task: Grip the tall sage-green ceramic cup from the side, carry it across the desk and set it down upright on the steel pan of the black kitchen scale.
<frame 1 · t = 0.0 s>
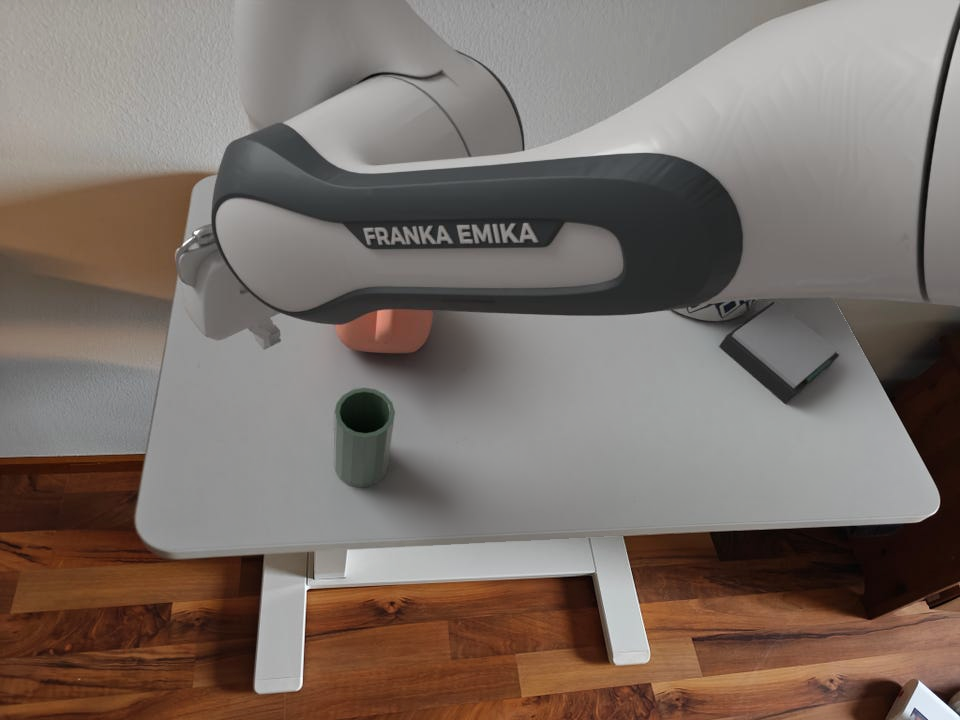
hand: (317, 316, 61), 21 cm above the table, tool pointing down, fingers open, 8 cm apart
teapot: (381, 320, 89), on the table
scale: (774, 356, 97), on the table
apple: (523, 242, 102), on the table
planter: (692, 276, 104), on the table
cup: (361, 463, 77), on the table
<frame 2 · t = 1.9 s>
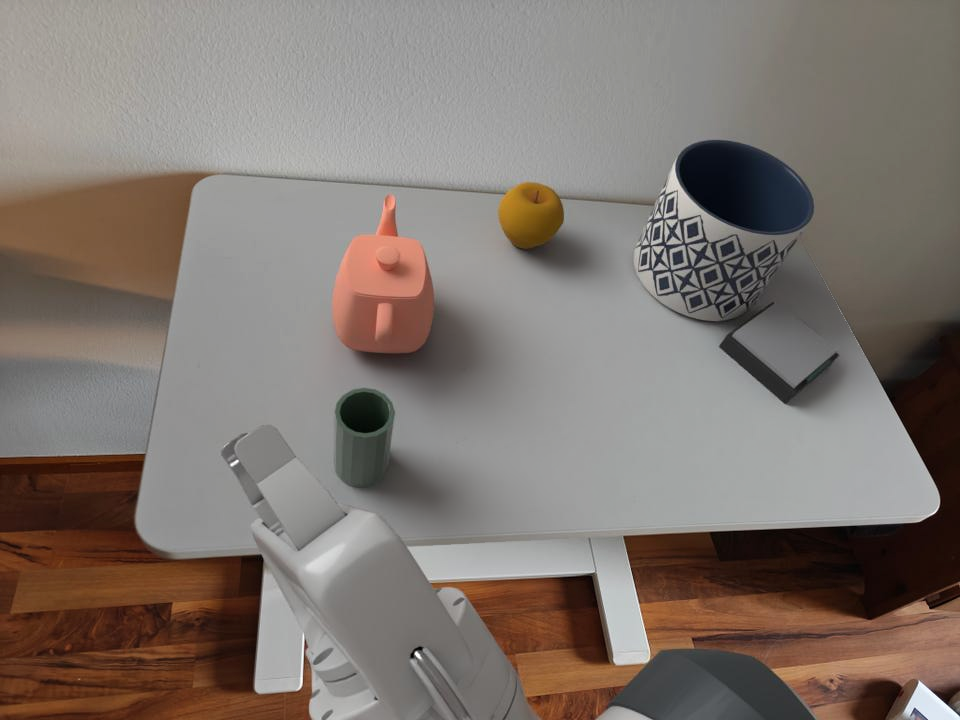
hand: (239, 436, 33), 39 cm above the table, tool pointing upward, fingers open, 8 cm apart
nothing on the table moved.
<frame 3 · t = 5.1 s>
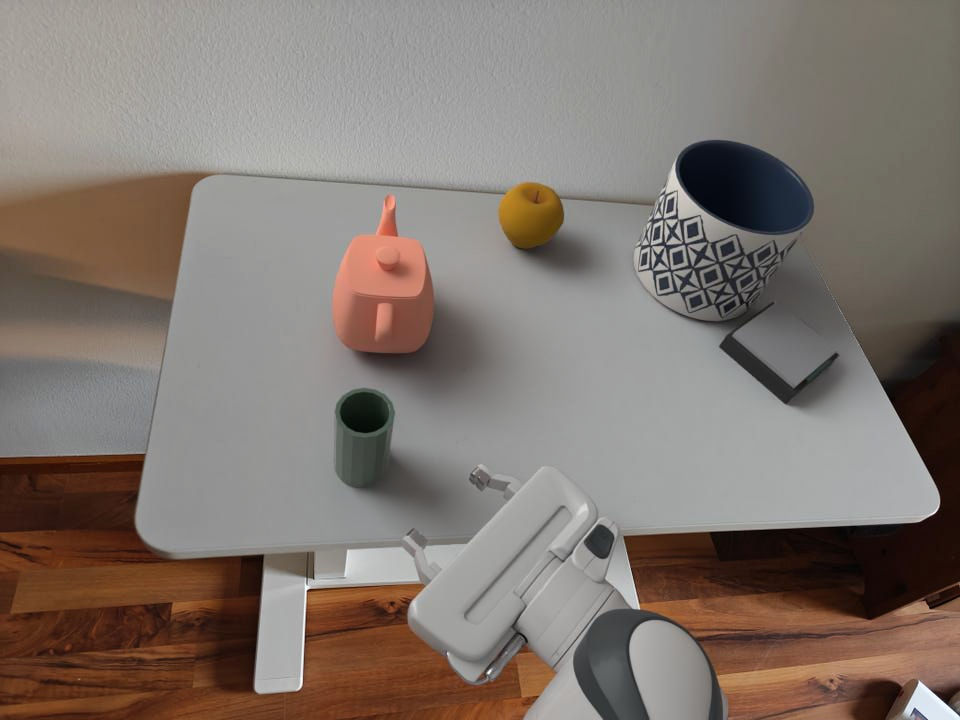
hand: (441, 502, 68), 7 cm above the table, tool horizontal, fingers open, 8 cm apart
nothing on the table moved.
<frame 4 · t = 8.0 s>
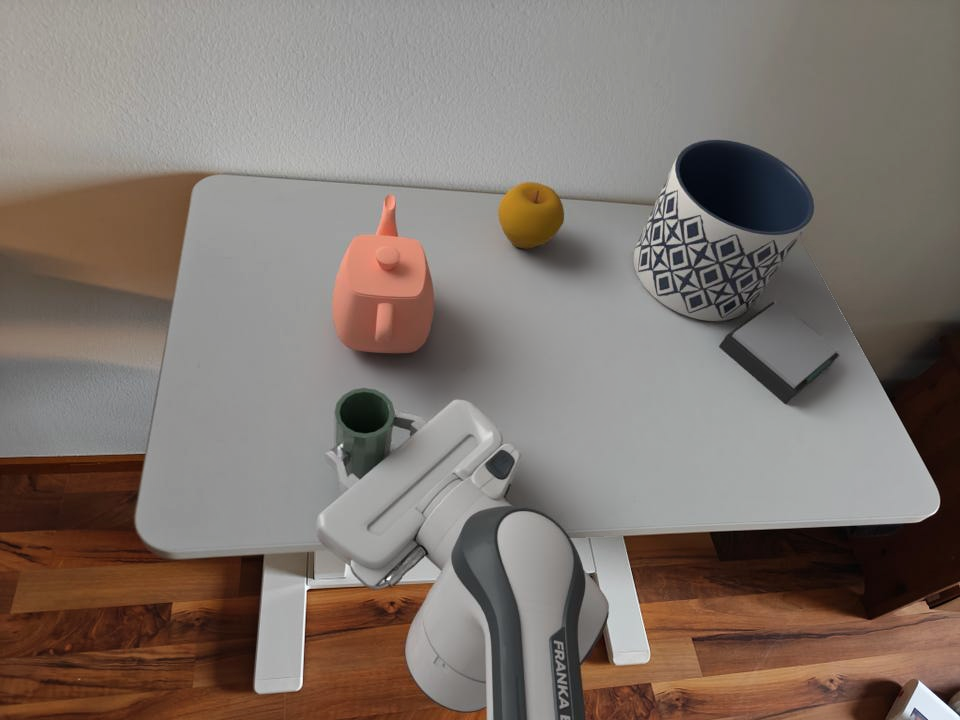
hand: (357, 430, 73), 6 cm above the table, tool horizontal, fingers closed on cup, 6 cm apart
cup: (361, 463, 77), on the table, touching gripper
everything else where it was.
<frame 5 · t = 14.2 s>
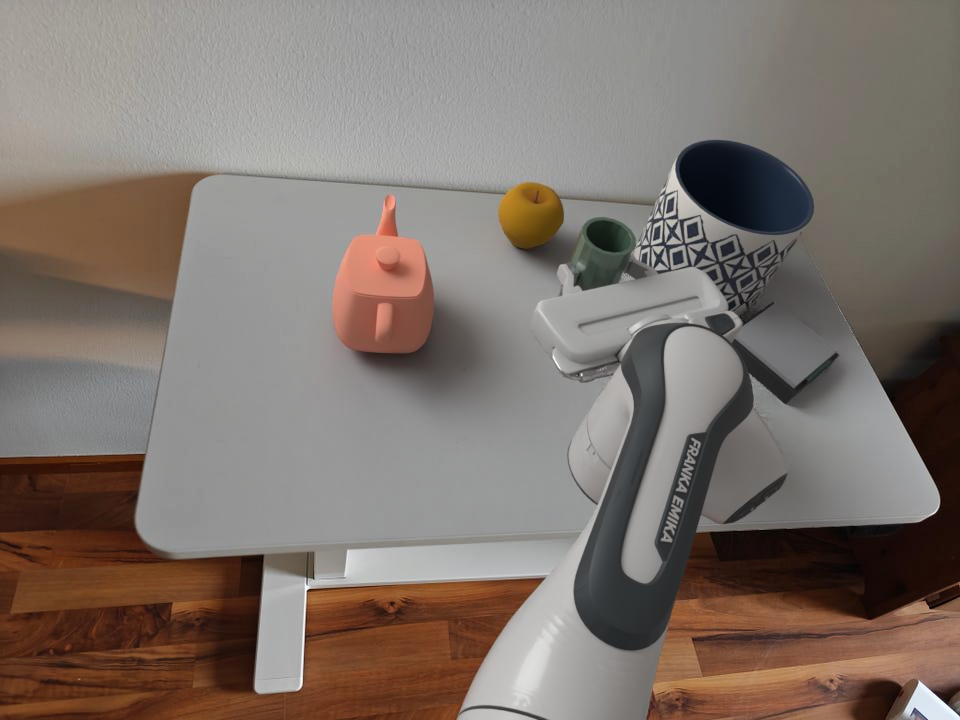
hand: (593, 261, 77), 17 cm above the table, tool horizontal, fingers closed on cup, 6 cm apart
cup: (582, 302, 81), point 11 cm above the table, touching gripper
everything else where it was.
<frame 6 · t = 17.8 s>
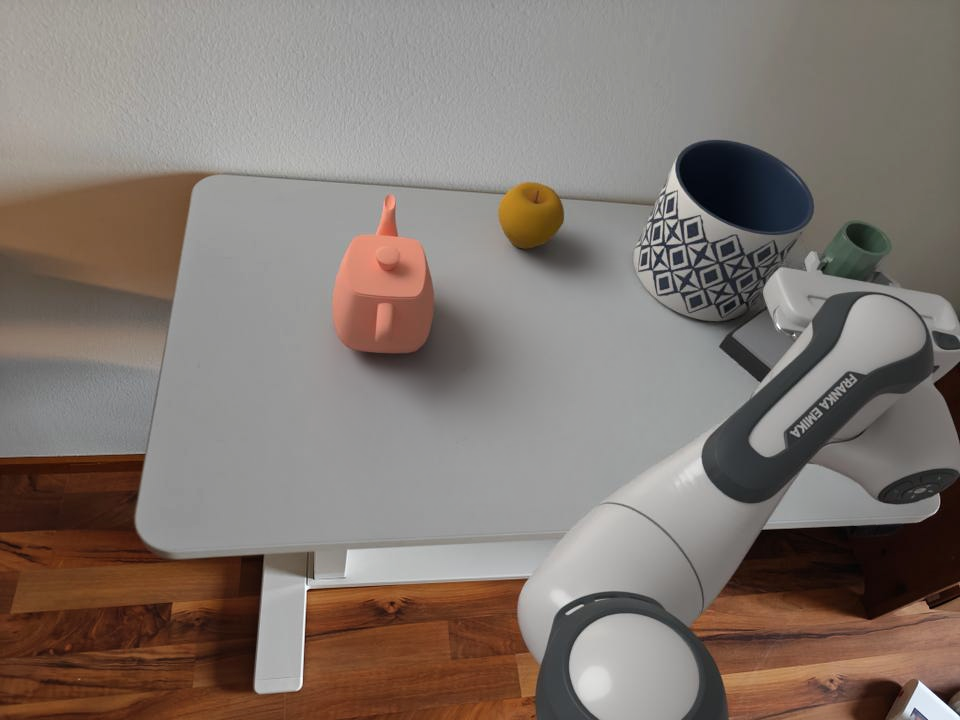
hand: (843, 261, 84), 17 cm above the table, tool horizontal, fingers closed on cup, 6 cm apart
cup: (819, 298, 88), point 11 cm above the table, touching gripper
everything else where it was.
when the fingers open (9 cm above the table, at t = 20.7 s): cup stays where it is, resting on scale.
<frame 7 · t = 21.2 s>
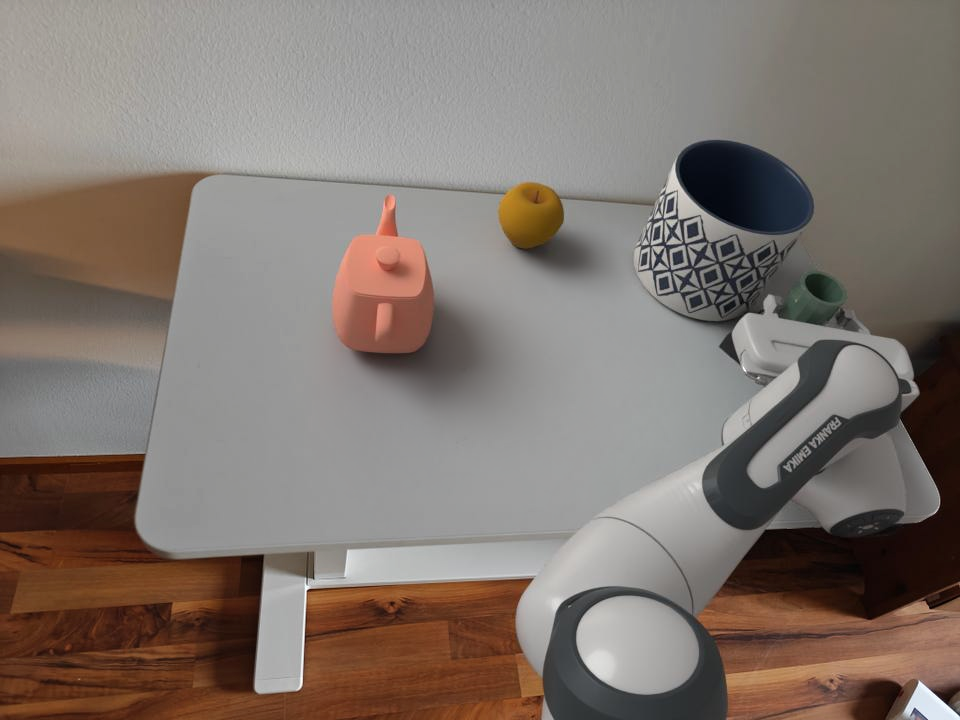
hand: (807, 305, 90), 9 cm above the table, tool horizontal, fingers open, 8 cm apart
cup: (782, 340, 94), point 3 cm above the table, touching scale
everything else where it was.
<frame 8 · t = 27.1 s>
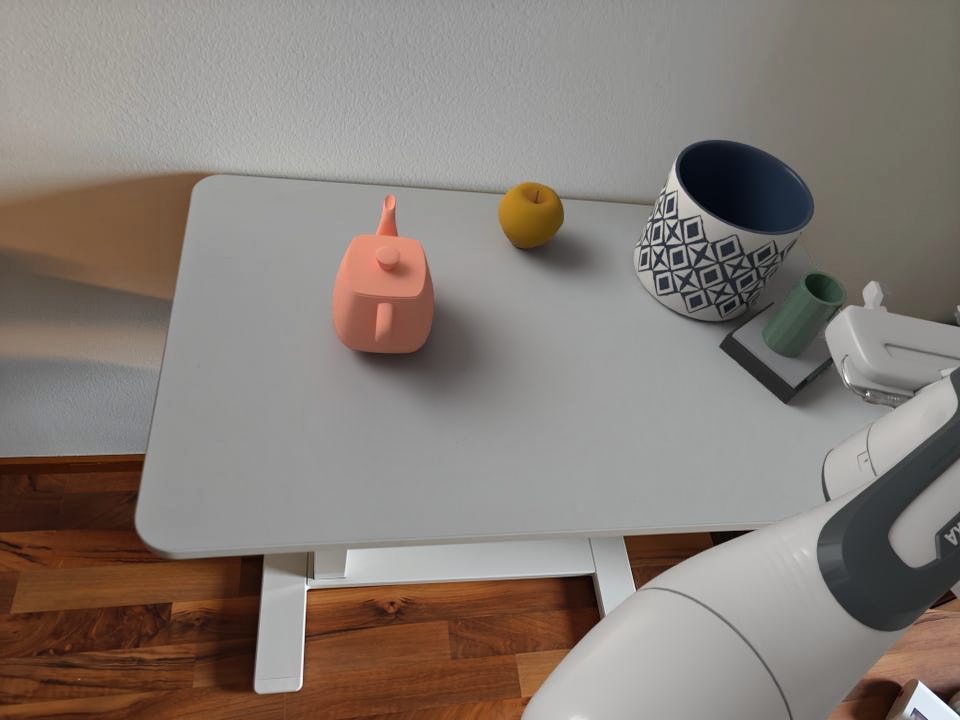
hand: (920, 296, 69), 25 cm above the table, tool horizontal, fingers open, 8 cm apart
nothing on the table moved.
at the end: cup inside the target area on the scale (0.5 cm from its centre), point 3.2 cm above the scale's base; cup tilted 0°; the gripper is holding nothing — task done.
